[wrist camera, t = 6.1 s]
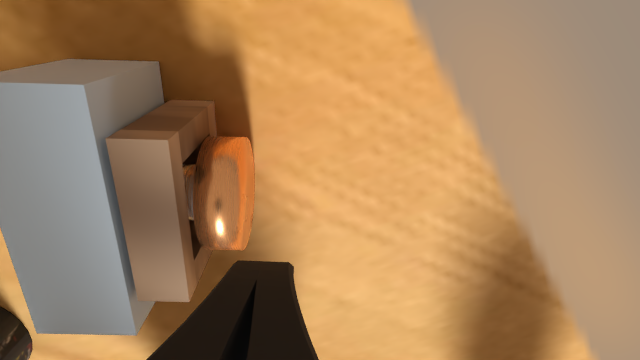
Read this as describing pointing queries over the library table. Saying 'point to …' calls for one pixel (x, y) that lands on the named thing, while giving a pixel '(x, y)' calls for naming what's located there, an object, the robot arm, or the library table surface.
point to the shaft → (221, 192)
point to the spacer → (161, 197)
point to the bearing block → (71, 190)
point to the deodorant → (13, 338)
